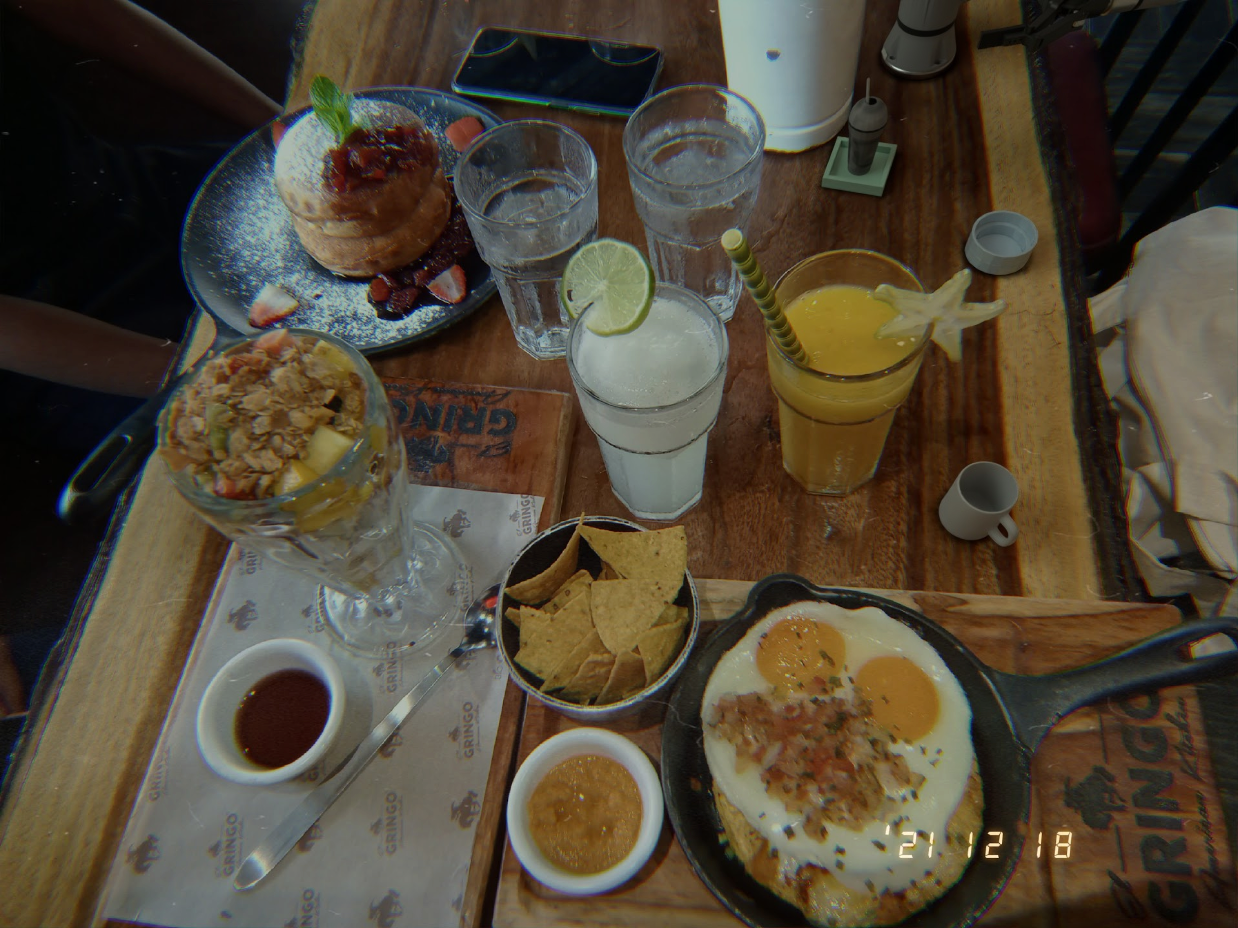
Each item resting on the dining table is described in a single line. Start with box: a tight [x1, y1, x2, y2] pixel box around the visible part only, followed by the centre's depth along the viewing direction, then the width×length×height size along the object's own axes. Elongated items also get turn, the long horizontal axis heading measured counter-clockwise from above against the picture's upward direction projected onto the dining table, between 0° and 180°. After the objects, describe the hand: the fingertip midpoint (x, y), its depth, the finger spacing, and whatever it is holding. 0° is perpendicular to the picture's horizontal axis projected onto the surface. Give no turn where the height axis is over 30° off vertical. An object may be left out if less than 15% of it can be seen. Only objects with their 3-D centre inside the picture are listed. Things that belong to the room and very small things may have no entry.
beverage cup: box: [847, 77, 889, 176], centre depth 140 cm, size 7×7×20 cm
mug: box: [938, 461, 1020, 547], centre depth 109 cm, size 12×8×11 cm
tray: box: [821, 136, 898, 197], centre depth 148 cm, size 12×12×2 cm
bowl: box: [964, 209, 1040, 276], centre depth 134 cm, size 11×11×5 cm
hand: (967, 14), depth 120 cm, fingers open, 13 cm apart
